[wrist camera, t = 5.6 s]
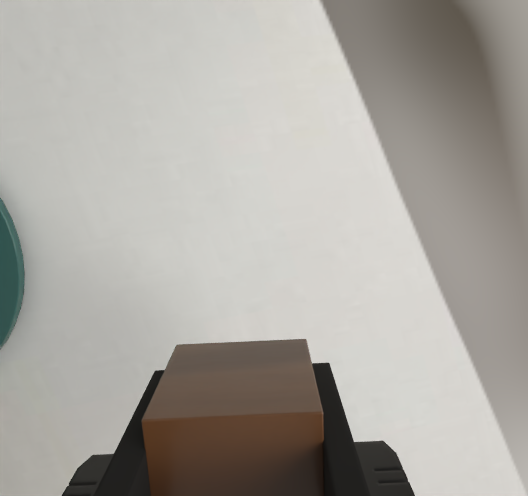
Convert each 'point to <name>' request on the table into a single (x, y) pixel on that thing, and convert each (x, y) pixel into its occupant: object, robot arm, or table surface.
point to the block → (236, 422)
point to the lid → (9, 275)
